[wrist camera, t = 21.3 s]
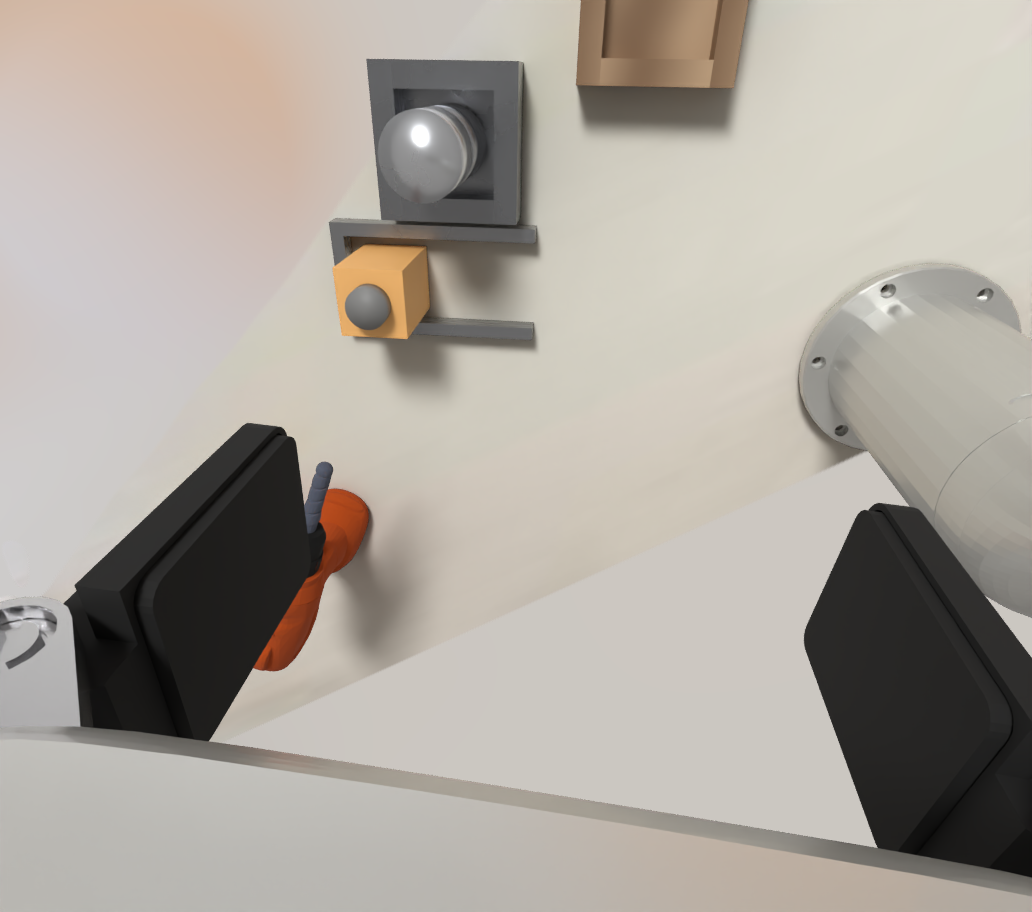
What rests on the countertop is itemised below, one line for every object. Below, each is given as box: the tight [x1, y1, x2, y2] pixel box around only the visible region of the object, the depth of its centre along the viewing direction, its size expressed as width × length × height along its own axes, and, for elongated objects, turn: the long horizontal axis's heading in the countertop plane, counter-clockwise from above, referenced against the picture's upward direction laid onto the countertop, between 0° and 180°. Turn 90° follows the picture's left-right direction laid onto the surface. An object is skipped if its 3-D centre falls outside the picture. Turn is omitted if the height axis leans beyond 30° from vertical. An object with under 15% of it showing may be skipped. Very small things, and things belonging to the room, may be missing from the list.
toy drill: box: [253, 462, 369, 671], centre depth 43 cm, size 5×19×15 cm, turn 157°
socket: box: [367, 59, 523, 225], centre depth 35 cm, size 8×8×3 cm
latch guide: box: [329, 218, 536, 340], centre depth 40 cm, size 13×7×1 cm, turn 89°
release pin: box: [333, 244, 430, 339], centre depth 38 cm, size 4×4×7 cm
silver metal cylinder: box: [378, 103, 486, 203], centre depth 32 cm, size 4×4×8 cm
